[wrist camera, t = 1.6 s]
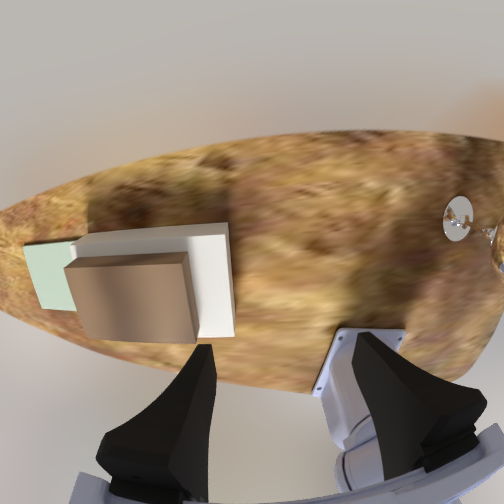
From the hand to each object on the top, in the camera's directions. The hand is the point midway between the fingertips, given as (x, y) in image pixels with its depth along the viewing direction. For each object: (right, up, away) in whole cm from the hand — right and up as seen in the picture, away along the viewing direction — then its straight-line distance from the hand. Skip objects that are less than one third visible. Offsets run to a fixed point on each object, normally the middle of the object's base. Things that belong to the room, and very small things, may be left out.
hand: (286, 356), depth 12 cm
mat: (-20, +3, +9) cm, 22 cm away
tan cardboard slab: (-10, +2, +6) cm, 12 cm away
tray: (-9, +3, +9) cm, 13 cm away
